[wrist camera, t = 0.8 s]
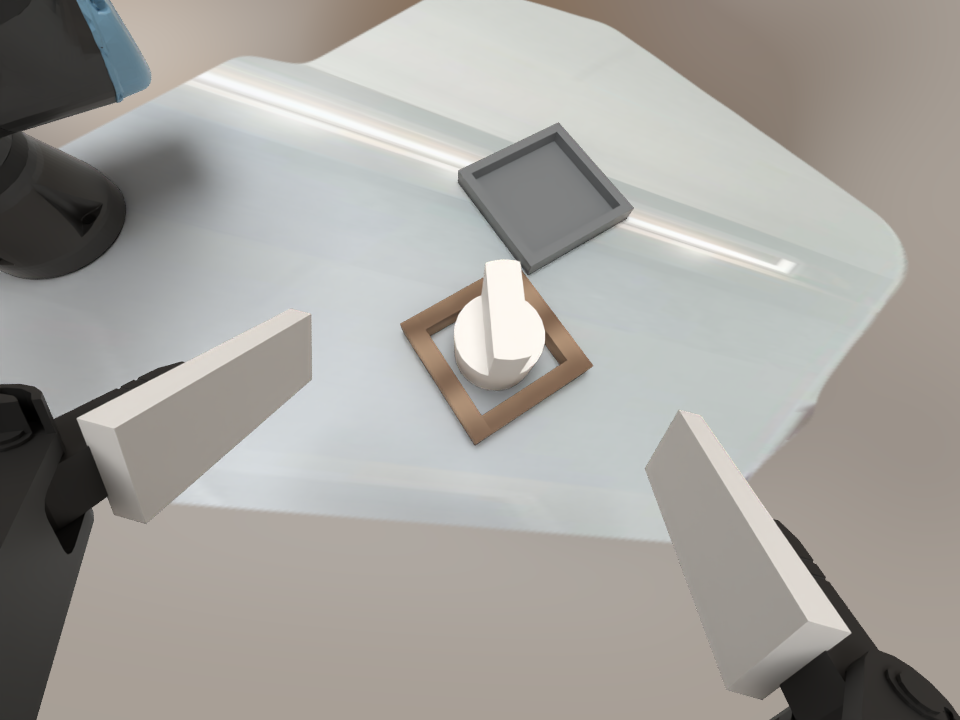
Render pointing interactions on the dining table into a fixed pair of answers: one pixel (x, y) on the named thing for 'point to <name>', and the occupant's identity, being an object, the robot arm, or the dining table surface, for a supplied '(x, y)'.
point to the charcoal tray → (543, 196)
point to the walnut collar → (451, 388)
